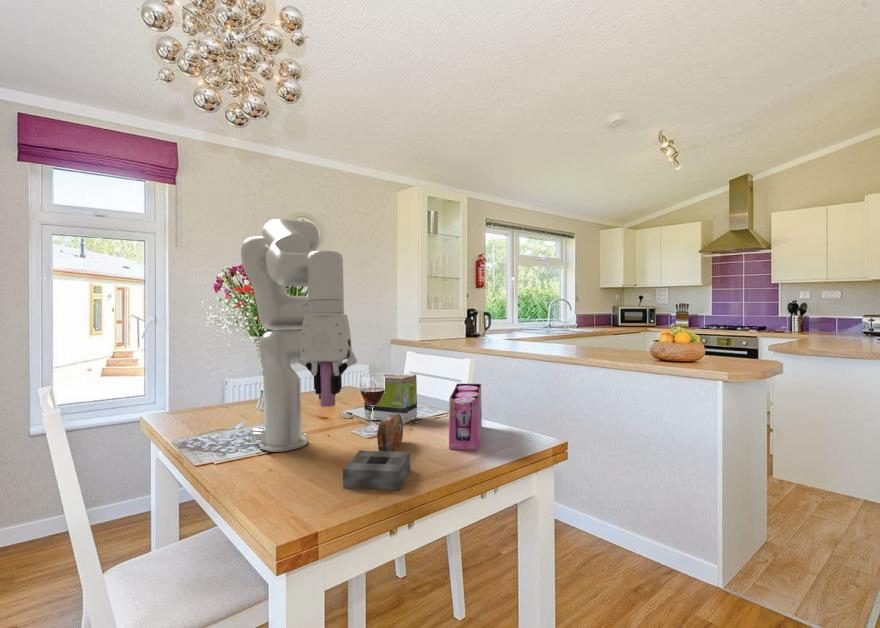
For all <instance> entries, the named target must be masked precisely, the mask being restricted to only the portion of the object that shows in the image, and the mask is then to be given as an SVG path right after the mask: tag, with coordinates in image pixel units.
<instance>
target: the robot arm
mask: <svg viewBox="0 0 880 628" xmlns="http://www.w3.org/2000/svg"><path fill="white" fill-rule="evenodd" d="M261 234H262V236H252V237H248V238H246V239H244V240H243V242H242V244H241V248H240V256H241V264H242V267H243V270H244V273H245V275H246V277H247V278H248V280H249V283H250V284H251V286H252V289H253V292H254V298H255V304H256V308H257V312H258V317H259V321H260V323H261V326H262V327H263V328H265V329H267V330H269V331H267V332H265V333H263V334H262V335H261V337H260V338H259V342H258V349H259V355H260V360H261V367H262V376H263V377H262V379H263V406H264V407H263V412H264V418H263V419H264V420H263V421H264V428H263V429H261V428H253V429H252V432H251V437H252V438H255V439H256V438H260V441H259V442H258V448H259V447H260V448H261V449H264V450H269V451H270V452H271V453H278V452H279V453H281V452H289V451H294V450H298V449H300V448H303V447H305V446H306V445H308V438H307V436H305V435H303V434H302V398H301V397H302V391H301V389H302V388H301V379H300V377H299V374H297V372H296V371H295V370H294V369H293V367H292V365H295V364H300V366H301V365H302V366H303V367H304V368H306V369H307V370H308V371H309V372H310V373H311V375H312V376H313V389H314V391H315V395H321V387H320V362H332V364H333V376H332V377H331V390H332V394H333V395H335V396H336V395H337V394H340V392H341V390H342V386H343V385H342V375H343V374H344V372H345V371H346V370H347V369H348V368H349V367H351V366H353V365H355V364H357V363H358V359H357V357H356V355H355V354H354V352H353V349H352V348H353V347H352V334H351V330H350V329H351V328H350V323H349V318H348V315H347V314H345V299H344V296H345V295H344V259H343V258H344V257H343V255H342V254H341V253H340V252H338V251H335V250H317V248H318V247H319V243H320V241H319V240H320V235H319V231H318V228H317V226H315V225H314V224H313V223H312V222H310V221H305V220H304V221H303V220H296V219H285V218H277V219H276V218H275V219H271V220H269V221H268V222H266V223H265V224H264V225H263V228H262V232H261ZM286 287H307V296H305V295H303V296H302V295H289V294H288V293H287V291H286ZM344 360H346V361H345V362H343V361H344ZM260 448H259V449H260ZM261 449H260V450H261ZM269 451H268V452H269Z"/></svg>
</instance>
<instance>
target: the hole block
mask: <svg viewBox="0 0 880 628" xmlns="http://www.w3.org/2000/svg"><path fill="white" fill-rule="evenodd" d="M410 471H411V451H394V452H391V451H379V450H361V449H360V450H359V451H358V452H357V453H356V454H355V455H354V456H353V458H352V459H351V460H350V461H349V462H348V463H347V464H346V465H345V467H344V468H342V484H343V485H342V486H343V487H342V488H343V489H357V490H358V489H359V490H360V489H361V490H381V491H382V490H383V491H400V490H401V487H402V486H403V484H404V482H405V480H406V478H407V476H408V475H409V472H410Z"/></svg>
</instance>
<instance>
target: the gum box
mask: <svg viewBox="0 0 880 628" xmlns="http://www.w3.org/2000/svg"><path fill="white" fill-rule="evenodd" d="M448 405H449V409H448V410H449V425H448V428H449V429H448V450H460V451H462V450H464V451H465V450H467V451H478V450H479V446H480V445H479V444H480V439H481V434H482V428H483V425H482V421H483V420H482V419H483V418H482V414H483V413H482V384H481V383H457V384H456V385H455V388H454V389H453V392H452V393H451V395H450V397H449V404H448Z"/></svg>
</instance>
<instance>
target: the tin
mask: <svg viewBox="0 0 880 628" xmlns="http://www.w3.org/2000/svg"><path fill="white" fill-rule="evenodd" d="M403 425H404V424H403V423H402V418H401V416H400V415H399V414H397V415H389V416H388V417H387V418H386V419H384V420H383V421H380V423H379V425H378V428H377V433H376V436H377V449H378V451H391V452H396V450H397V448H399V447H400V445H401V444H402V440H403V433H404V426H403Z"/></svg>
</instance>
